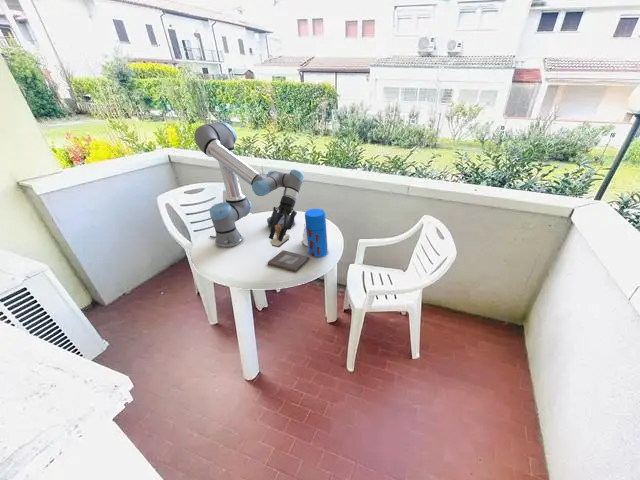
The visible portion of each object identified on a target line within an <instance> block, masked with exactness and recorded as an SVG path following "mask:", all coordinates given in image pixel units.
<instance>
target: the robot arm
mask: <svg viewBox="0 0 640 480" xmlns="http://www.w3.org/2000/svg"><path fill="white" fill-rule="evenodd" d="M193 135H194V136H193V137H194V138H193V139H194V141H195V144H196V146H197V147H198V149H199V150H200V151H201V152H202V153H203V154H204V155H205V156H207V157H209V158H213V159H215V160H216V161H217V163H218V166H219V170H220V174H221V177H222V181H223V185H224V188H225V193H226V196H225V198H224V199H225V202H224V201H223V202H219V203H215V204H213V205H212V206H211V207H210V208H209V216H210V218H211V221H212V224H213V228H214V231H215V236H213V235H209V238H213V239H215V244H216V247H218V248H223V249H224V248H225V249H226V248H232V247H235V246H238V245H240V244H241V243H242V242H243V236H242V235H241V233H240V232H239V230H238V229H237V226H236V222H237V221H240V220H241V219H243V218H244V217H246V216H248V215H249V214H250V213H251V212H252V208H253V207H252V202H251V200H250V199H249V198H248V197H247V196H246V195H245V194H244V193H243V190H242V187H241V183H240V179H241V180H243V181H244V182H246V183H247V184H248V185H249V186H251V189H252V192H253V193H254V194H255V195H256V196H258V197H264V196H266V195H268V194H270V193H272V192H274V191H275V190H277V189H279V188H284V189H283V191H282V196H281V198H280V201H279V205H278V206H273V208H272V214H271V216H270V217H271V219H270V222H269V224H270V225H271V227H270V230H269V236H268V239H270V240H272V239H273V238H275V235H276V230H275V225H277V224H278V222H279V221H280V219H281V217H283V215H284V226H283V228H284V229H283V228H282V229H281V232H280V235H279V238H278V240H279V241H280V242H282V240H283V237H284V236H285V234H287V231H288V230H291V229H292V227H293V226H292V224H293V221H294V220H295V218H296V216H297V214H298V212H297V211H295V210H294V208H295V206H296V201H297V200H298V196H299V193H300V191H301V187H302V185H303V183H304V177H305V175H304V173H303V172H302V171H300V170H298V169H294V168H293V169H291V170H290V171H289V173H287V172H281V171H277V170H270V171H268V172H267V173H266V176H263V174H261V173H260V172H258V170H256V169H254V168H253V167H252V166H250V165H249V164H247V162H245V161H244V160H242V159H241V158H239V157H238V156H237V155H235V154H234V152H235V150H236V148H235V143H236V142H237V140H238V139H237V138H238V137H237V133H236V131H235V129H234V128H233V126H231V124H229V123H228V122H225V121H216V122H212V123H208V124H202V125H200V126H198V127H197V128H196V129H195V131H194V134H193ZM239 178H240V179H239ZM289 216H290V218H289Z"/></svg>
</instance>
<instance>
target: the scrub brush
mask: <svg viewBox="0 0 640 480" xmlns="http://www.w3.org/2000/svg"><path fill="white" fill-rule="evenodd" d="M275 230H276V232H275V235H276V236H274V238H273V239H270V240H269V244H270V245H271V247H275V248H280V247H282V246H283V245H284V244H285V243H287V242H288V241H290V234H289V233H286V234H285V236H284V237H283V240H282V242H280V241H279V240H278V238H279V235H280V232H281V226H280V225H275Z"/></svg>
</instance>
